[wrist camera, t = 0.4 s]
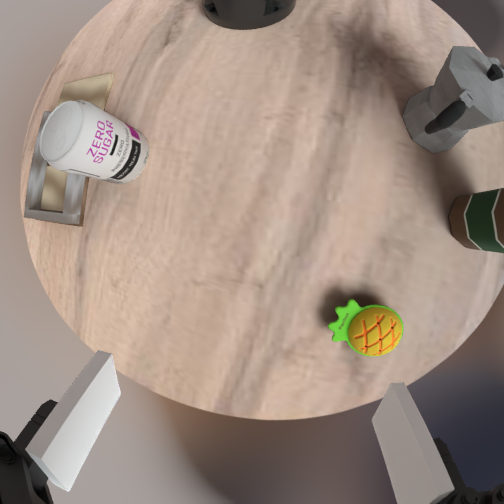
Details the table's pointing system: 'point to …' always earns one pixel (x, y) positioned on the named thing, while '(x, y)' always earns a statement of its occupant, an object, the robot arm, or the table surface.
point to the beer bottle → (479, 220)
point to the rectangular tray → (59, 182)
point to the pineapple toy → (367, 328)
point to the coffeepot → (457, 100)
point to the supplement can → (92, 143)
